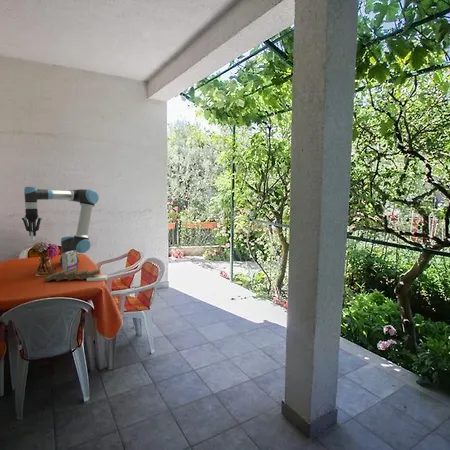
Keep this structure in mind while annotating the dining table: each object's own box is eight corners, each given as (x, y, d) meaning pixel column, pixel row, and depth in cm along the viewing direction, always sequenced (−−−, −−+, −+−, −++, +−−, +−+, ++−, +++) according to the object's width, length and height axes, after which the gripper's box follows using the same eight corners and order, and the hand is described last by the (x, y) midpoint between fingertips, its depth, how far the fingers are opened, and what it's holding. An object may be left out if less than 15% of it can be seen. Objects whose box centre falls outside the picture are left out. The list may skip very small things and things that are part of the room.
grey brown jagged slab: (66, 277, 220) (85, 271, 223) (69, 275, 226) (87, 268, 229) (68, 280, 220) (87, 274, 223) (70, 278, 227) (88, 271, 230)
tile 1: (45, 278, 217) (63, 271, 219) (48, 275, 224) (66, 269, 225) (46, 281, 217) (65, 274, 219) (50, 278, 224) (68, 272, 226)
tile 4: (79, 277, 221) (98, 270, 224) (81, 274, 228) (99, 268, 231) (81, 280, 222) (99, 273, 225) (82, 277, 228) (100, 271, 231)
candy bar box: (72, 270, 247) (71, 250, 245) (77, 271, 246) (77, 250, 244) (62, 274, 236) (61, 253, 234) (68, 274, 235) (67, 253, 233)
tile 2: (55, 278, 218) (73, 271, 220) (58, 275, 225) (76, 269, 227) (56, 281, 219) (75, 274, 220) (59, 278, 225) (77, 272, 227)
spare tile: (86, 278, 221) (106, 277, 224) (89, 275, 228) (107, 275, 231) (86, 281, 222) (106, 281, 224) (89, 278, 229) (107, 278, 231)
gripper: (18, 208, 220) (20, 241, 223) (38, 208, 222) (40, 241, 224) (24, 207, 227) (26, 239, 230) (43, 207, 229) (44, 239, 232)
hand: (33, 240), depth 227 cm, fingers closed
